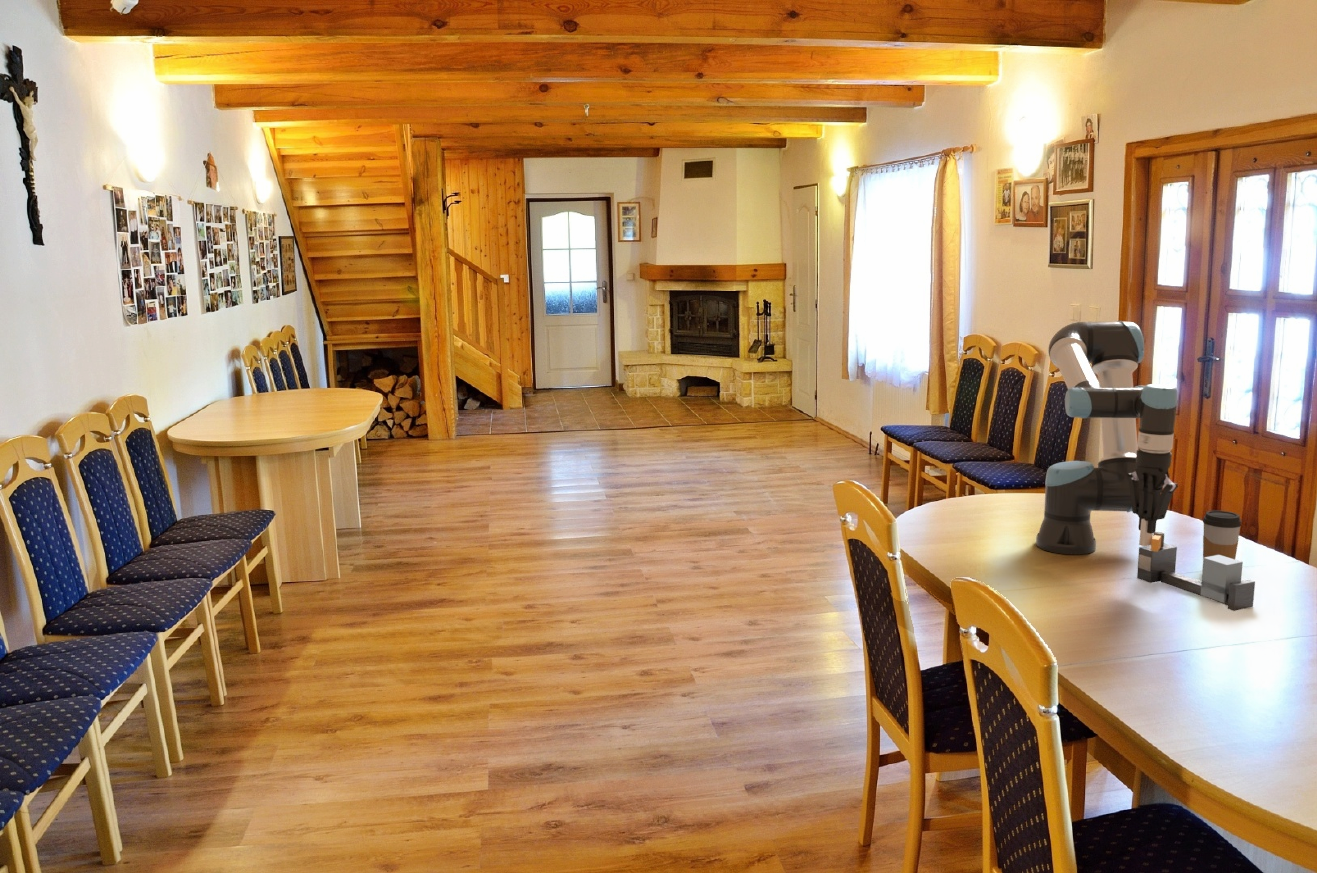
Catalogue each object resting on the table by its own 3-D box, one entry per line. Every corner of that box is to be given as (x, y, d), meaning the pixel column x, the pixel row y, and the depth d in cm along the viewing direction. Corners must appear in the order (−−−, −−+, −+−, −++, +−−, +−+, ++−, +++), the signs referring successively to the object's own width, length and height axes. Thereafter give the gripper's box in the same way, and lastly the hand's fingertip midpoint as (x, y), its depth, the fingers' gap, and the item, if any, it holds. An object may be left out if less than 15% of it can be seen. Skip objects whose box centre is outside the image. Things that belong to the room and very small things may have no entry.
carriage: (1200, 594, 228) (1203, 557, 226) (1215, 591, 230) (1218, 554, 228) (1223, 603, 223) (1226, 565, 221) (1239, 599, 224) (1242, 561, 223)
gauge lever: (1148, 550, 238) (1149, 537, 237) (1153, 544, 243) (1154, 531, 242) (1159, 552, 236) (1160, 539, 236) (1164, 545, 241) (1165, 532, 241)
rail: (1160, 582, 240) (1161, 572, 239) (1167, 580, 241) (1168, 570, 240) (1231, 606, 222) (1232, 596, 222) (1239, 605, 223) (1240, 594, 223)
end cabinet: (1136, 578, 243) (1138, 547, 241) (1160, 573, 246) (1163, 542, 244) (1150, 583, 239) (1152, 551, 238) (1174, 578, 242) (1176, 547, 241)
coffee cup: (1242, 578, 241) (1247, 519, 238) (1205, 577, 242) (1209, 518, 240) (1230, 567, 249) (1235, 510, 246) (1194, 566, 250) (1198, 509, 248)
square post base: (1227, 608, 221) (1229, 583, 220) (1246, 604, 224) (1248, 579, 222) (1234, 611, 220) (1236, 585, 219) (1252, 606, 222) (1255, 581, 221)
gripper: (1120, 446, 238) (1112, 539, 243) (1166, 456, 227) (1156, 554, 231) (1143, 443, 241) (1135, 535, 246) (1189, 453, 230) (1179, 550, 234)
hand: (1145, 544), depth 239 cm, fingers closed
